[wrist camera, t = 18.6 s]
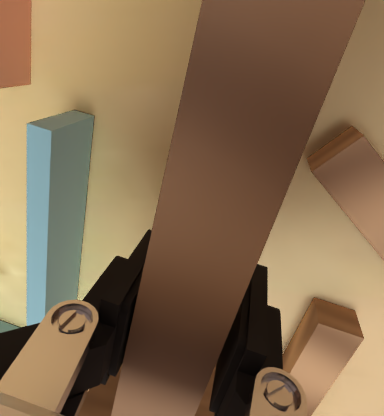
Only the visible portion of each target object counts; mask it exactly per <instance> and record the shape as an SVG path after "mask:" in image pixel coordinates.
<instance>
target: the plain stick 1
mask: <svg viewBox="0 0 384 416" xmlns="http://www.w3.org/2000/svg"><path fill="white" fill-rule="evenodd" d="M307 160H308V163H309V166H310V169H311V172H312V173H313V174H314V175H315V177H316V178H317V179H318V180H319V182H320V183H321V184H322V185H323V187H324V188H325V189H326V190H327V191H328V193H329V194H330V195H331V196H332V198H333V199H334V200H335V201H336V202H337V204H338V205H339V206H340V207H341V209H342V210H343V211H344V212H345V213H346V215H347V216H348V217H349V218H350V220H351V221H352V222H353V223H354V224H355V226H356V227H357V228H358V229H359V231H360V232H361V233H362V234H363V235H364V237H365V238H366V239H367V240H368V242H369V243H370V244H371V245H372V246H373V248H374V249H375V250H376V251H377V253H378V254H379V255H380V256H381V258H382V259H383V260H384V162H383V160H382V159H381V158H380V156H379V155H378V154H377V153H376V151H375V150H374V149H373V147H372V146H371V145H370V143H369V142H368V141H367V139H366V138H365V137H364V136H363V135H362V134H361V133H360V132H359V131H358V130H357V129H355V128H354V127H353V126H351V127H350V128H349V129H347V130H346V131H344V132H343V133H342V134H340V135H339V136H337V137H336V138H335V139H333V140H332V141H331V142H329V143H328V144H326V145H325V146H324V147H322V148H321V149H319V150H318V151H317V152H315V153H314V154H312V155H311V156H310V157H308V158H307Z"/></svg>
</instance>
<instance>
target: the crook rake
mask: <svg viewBox="0 0 384 416" xmlns="http://www.w3.org/2000/svg"><path fill="white" fill-rule="evenodd" d="M364 2H365V0H202V5H201V9H200V14H199V18H198V23H197V28H196V32H195V37H194V41H193V46H192V50H191V55H190V59H189V64H188V68H187V73H186V78H185V82H184V87H183V91H182V96H181V100H180V105H179V109H178V114H177V118H176V123H175V128H174V132H173V137H172V141H171V146H170V150H169V155H168V159H167V164H166V168H165V173H164V178H163V182H162V187H161V191H160V196H159V200H158V205H157V209H156V214H155V218H154V223H153V228H152V232H151V237H150V241H149V246H148V250H147V255H146V259H145V264H144V268H143V273H142V278H141V282H140V287H139V291H138V296H137V300H136V305H135V309H134V314H133V318H132V323H131V328H130V332H129V337H128V341H127V346H126V350H125V355H124V359H123V363H122V365H121V367H120V369H119V371H118V373H117V375H116V377H114V376H112V375H110V377H109V379H108V381H107V383H106V385H103V384H100V385H98V386H96V387H93V388H91V389H89V391H88V393H87V395H86V398H85V400H84V403H83V405H82V407H81V410H80V412H79V414H78V416H214V412H211V411H209V406H210V400H211V394H212V388H213V382H214V376H215V370H216V364H217V360H218V358H219V355H220V353H221V351H222V348H223V346H224V343H225V341H226V338H227V336H228V334H229V331H230V329H231V326H232V324H233V321H234V319H235V317H236V314H237V312H238V309H239V307H240V304H241V302H242V299H243V297H244V295H245V292H246V290H247V287H248V285H249V282H250V280H251V278H252V275H253V273H254V270H255V268H256V265H257V263H258V261H259V258H260V256H261V253H262V251H263V248H264V246H265V243H266V241H267V239H268V236H269V234H270V231H271V229H272V226H273V224H274V222H275V219H276V217H277V214H278V212H279V209H280V207H281V205H282V202H283V200H284V197H285V195H286V192H287V190H288V187H289V185H290V183H291V180H292V178H293V175H294V173H295V170H296V168H297V166H298V163H299V161H300V158H301V156H302V153H303V151H304V149H305V146H306V144H307V141H308V139H309V136H310V134H311V132H312V129H313V127H314V124H315V122H316V119H317V117H318V114H319V112H320V110H321V107H322V105H323V102H324V100H325V97H326V95H327V93H328V90H329V88H330V85H331V83H332V80H333V78H334V76H335V73H336V71H337V68H338V66H339V63H340V61H341V58H342V56H343V54H344V51H345V49H346V46H347V44H348V41H349V39H350V37H351V34H352V32H353V29H354V27H355V24H356V22H357V20H358V17H359V15H360V12H361V10H362V7H363V5H364Z"/></svg>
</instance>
